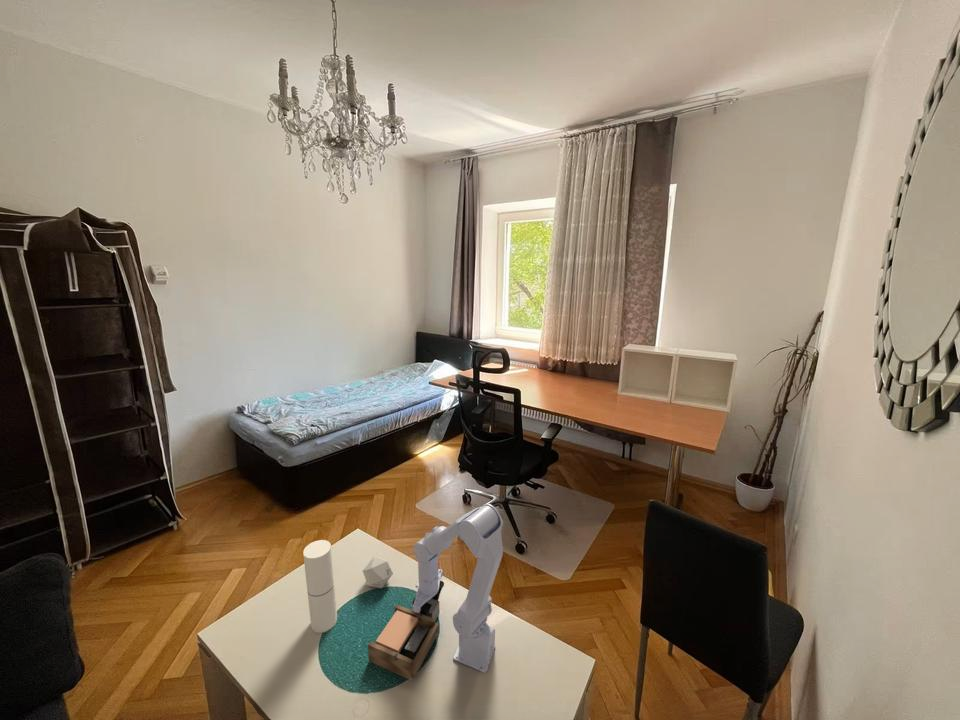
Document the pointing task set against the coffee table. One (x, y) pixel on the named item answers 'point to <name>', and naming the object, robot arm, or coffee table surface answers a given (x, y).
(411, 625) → the trapdoor
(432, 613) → the stone
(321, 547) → the cylindrical container
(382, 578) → the die
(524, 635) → the coffee table surface
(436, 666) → the coffee table surface
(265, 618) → the coffee table surface
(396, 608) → the frame
